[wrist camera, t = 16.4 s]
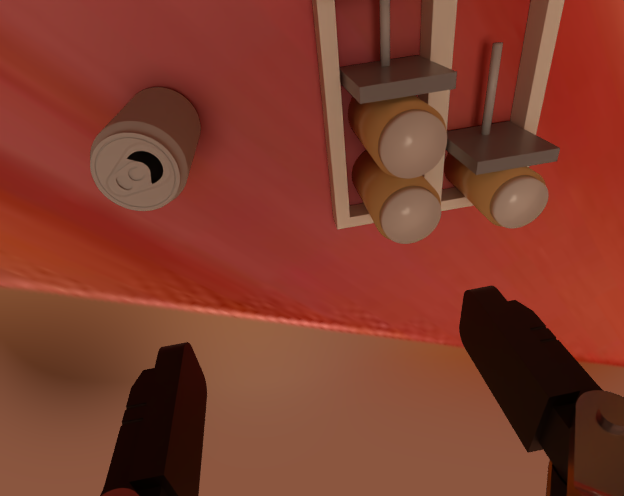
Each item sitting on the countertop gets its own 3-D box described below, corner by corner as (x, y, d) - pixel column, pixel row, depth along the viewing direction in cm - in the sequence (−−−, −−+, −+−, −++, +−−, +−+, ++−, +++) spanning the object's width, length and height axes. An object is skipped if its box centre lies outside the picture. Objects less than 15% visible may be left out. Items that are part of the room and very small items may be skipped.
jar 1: (345, 84, 37) (375, 114, 28) (408, 74, 37) (455, 101, 29) (349, 146, 40) (377, 188, 32) (407, 136, 40) (448, 176, 32)
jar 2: (350, 150, 40) (377, 193, 32) (407, 140, 41) (448, 180, 32) (353, 201, 44) (378, 252, 36) (405, 192, 44) (442, 240, 36)
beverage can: (215, 130, 37) (205, 184, 27) (163, 167, 39) (136, 231, 29) (167, 69, 34) (135, 106, 24) (111, 112, 35) (60, 163, 25)
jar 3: (446, 141, 41) (496, 181, 33) (497, 133, 42) (559, 170, 33) (441, 189, 44) (486, 236, 36) (489, 181, 45) (544, 226, 37)
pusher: (445, 46, 36) (491, 60, 29) (523, 33, 36) (586, 45, 30) (438, 143, 41) (476, 175, 34) (507, 132, 41) (556, 161, 35)
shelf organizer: (310, -21, 32) (328, -22, 25) (556, -57, 33) (638, -66, 26) (333, 219, 45) (349, 262, 38) (509, 188, 46) (556, 224, 39)
